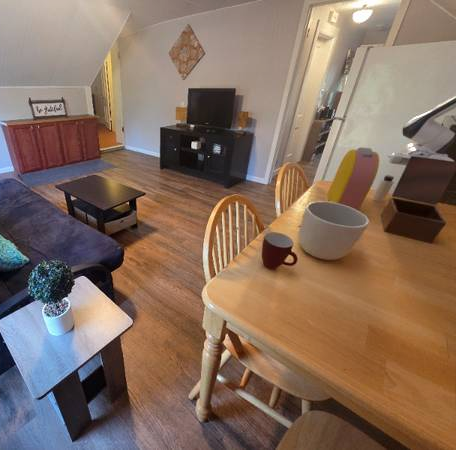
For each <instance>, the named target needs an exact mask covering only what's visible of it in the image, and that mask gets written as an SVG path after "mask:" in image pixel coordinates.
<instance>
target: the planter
mask: <svg viewBox="0 0 456 450" xmlns="http://www.w3.org/2000/svg"><path fill="white" fill-rule="evenodd" d="M303 215H304V216H303ZM303 215H302V220H301V223H300V225H301V227H299V230H298V242H299V245H300V246H301V248H302V249H303V250H304V251H305V253H307V254H309V255H311V256H312V257H314V258H317V259H320V260H325V261H326V260H327V261H333V260H334V261H335V260H338V259H341V258H344V257H346V256H347V255H348V254H349V253H351V251H352V250H353V248H354V247H355V245H356V244H357V243H358V241H359V240H360V238H361V237H362V235H363V234H364V233H365V231H366V230H367V228H368V226H369V225H370V219H369V217H368V216H367V215H366V214H364V213H363V212H361V211H360V210H359V211H358V210H356V209H354V208H351V207H349V206H346V205H342V204H338V203H333V202H329V201H323V200H322V201H321V200H318V201H311V202H309V203H308V204H307V205H306V206H305V208H304V213H303Z"/></svg>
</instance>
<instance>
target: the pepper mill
mask: <svg viewBox="0 0 456 450" xmlns="http://www.w3.org/2000/svg"><path fill="white" fill-rule="evenodd" d="M394 179H395V177H394V176H393V175H389V174H386V175H385V176H384V178H381V179H380V181H379V183H378V184H377V186H376V188H375V190H374V192H373V194H372V195H371V197H370V199H371V200H372V201H375V202H380V203H381V202H382V203H383V202H384V201H385V200H386V197H387V195H388V193H389V192H390V190H391V188H392V187H393V185H394V183H395V181H394Z"/></svg>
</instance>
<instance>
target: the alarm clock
mask: <svg viewBox="0 0 456 450" xmlns="http://www.w3.org/2000/svg"><path fill="white" fill-rule="evenodd" d="M379 166H380V155H379V154H378V152H377V151H373V150H372V148H371V147H363V146H361V147H358V148H357V149H349V150H348V151H347V152H346V154H345V155H344V156H343V157H342V160H341V162H340V164H339V165H338V167H337V170H336V172H335V175H334V177H333V180H332V182H331V185H330V187H329V190H328V191H327V199H328V202H333V203H338V204H342V205H346V206H349V207H351V208H354V209H356V210H358V211H360V209H361V208H362V205H363V203H364V202H365V200H366V198H367V196H368V194H369V192H370V190H371V188H372V186H373V184H374V182H375V179H376V177H377V174H378V171H379Z"/></svg>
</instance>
